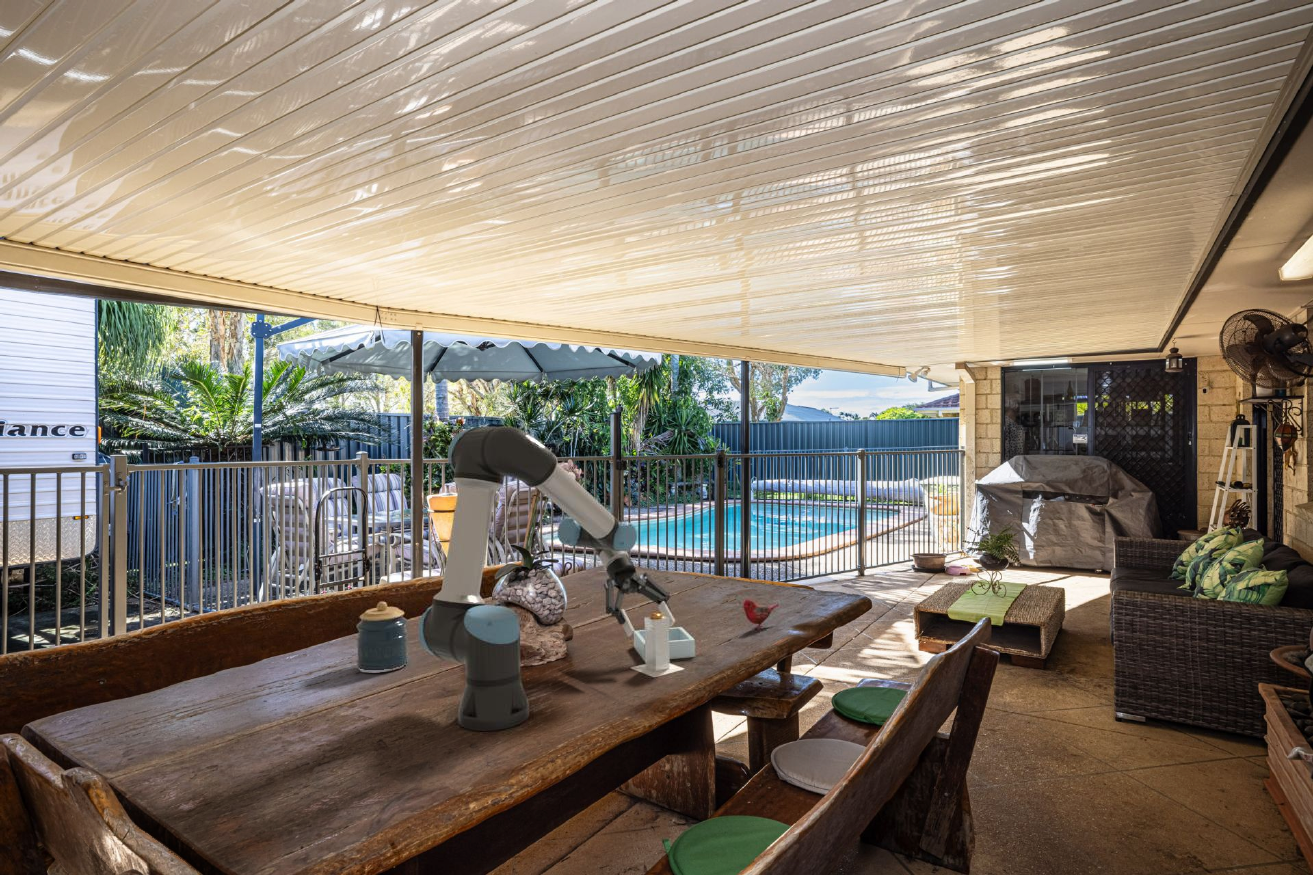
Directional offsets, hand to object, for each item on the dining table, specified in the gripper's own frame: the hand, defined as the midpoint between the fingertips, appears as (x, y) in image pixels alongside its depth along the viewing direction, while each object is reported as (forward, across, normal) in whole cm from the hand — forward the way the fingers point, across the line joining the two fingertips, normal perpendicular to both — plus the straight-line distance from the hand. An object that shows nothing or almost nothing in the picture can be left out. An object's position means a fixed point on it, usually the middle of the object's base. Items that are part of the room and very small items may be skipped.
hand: (652, 628), depth 190 cm
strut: (+9, +1, -4) cm, 10 cm away
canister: (-28, +53, -44) cm, 74 cm away
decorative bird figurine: (+1, -52, -15) cm, 54 cm away
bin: (+3, -9, -12) cm, 16 cm away
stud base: (+10, +1, -5) cm, 11 cm away
